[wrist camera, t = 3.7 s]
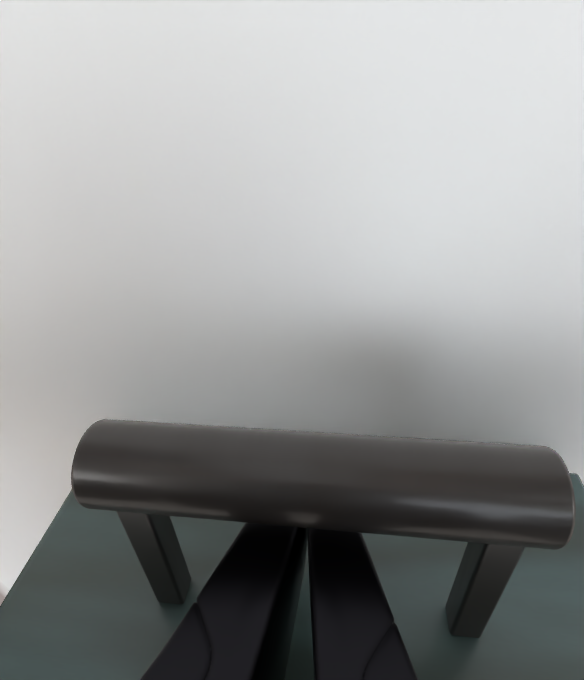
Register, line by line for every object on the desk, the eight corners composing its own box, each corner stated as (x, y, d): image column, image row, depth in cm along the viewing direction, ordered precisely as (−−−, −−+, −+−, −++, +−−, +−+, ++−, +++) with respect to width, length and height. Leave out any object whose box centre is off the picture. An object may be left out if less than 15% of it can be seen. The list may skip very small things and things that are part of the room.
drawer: (39, 297, 10) (-269, 563, 5) (662, 315, 9) (1092, 721, 4) (183, 632, 21) (127, 826, 16) (474, 667, 19) (516, 895, 14)
